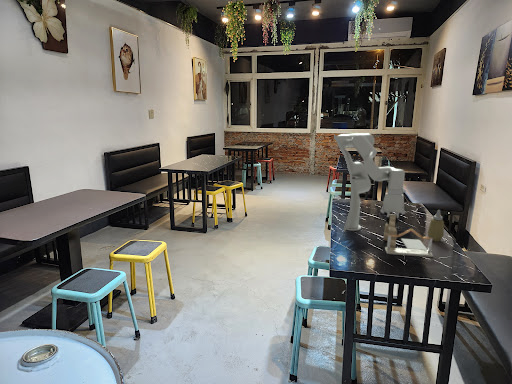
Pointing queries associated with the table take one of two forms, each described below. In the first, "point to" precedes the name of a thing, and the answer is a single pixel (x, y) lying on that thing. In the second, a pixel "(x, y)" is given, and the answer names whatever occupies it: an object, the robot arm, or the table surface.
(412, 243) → the pad
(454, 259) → the table surface
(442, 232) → the squeeze bottle
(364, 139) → the robot arm
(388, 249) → the wire
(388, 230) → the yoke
